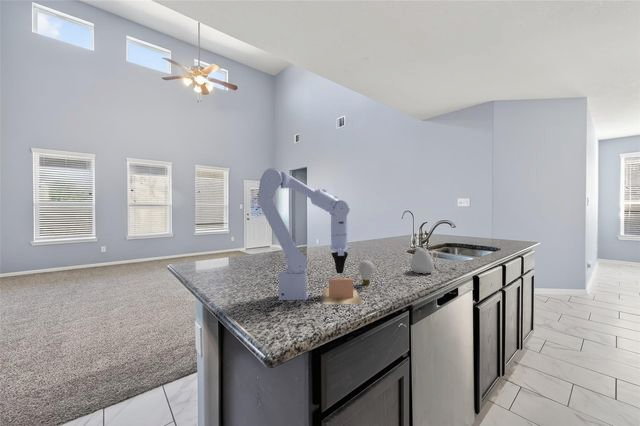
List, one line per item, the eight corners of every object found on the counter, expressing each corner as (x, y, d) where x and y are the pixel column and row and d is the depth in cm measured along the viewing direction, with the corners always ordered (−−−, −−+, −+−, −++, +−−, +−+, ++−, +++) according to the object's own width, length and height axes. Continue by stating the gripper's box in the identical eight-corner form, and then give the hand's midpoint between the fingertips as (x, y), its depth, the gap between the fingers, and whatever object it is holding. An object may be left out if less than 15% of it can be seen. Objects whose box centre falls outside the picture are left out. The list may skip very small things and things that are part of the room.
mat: (323, 306, 82) (323, 304, 82) (322, 289, 100) (322, 287, 100) (362, 306, 82) (362, 304, 82) (354, 289, 100) (354, 287, 100)
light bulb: (374, 288, 101) (373, 261, 101) (358, 287, 102) (357, 261, 102) (374, 284, 107) (373, 259, 107) (359, 283, 108) (358, 258, 108)
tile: (329, 298, 88) (328, 279, 88) (328, 296, 90) (328, 278, 90) (353, 297, 88) (353, 279, 88) (352, 295, 90) (352, 278, 90)
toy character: (433, 270, 129) (433, 245, 129) (434, 275, 120) (433, 248, 120) (411, 269, 133) (410, 245, 133) (409, 273, 124) (409, 247, 123)
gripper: (353, 236, 88) (353, 277, 88) (348, 232, 102) (348, 268, 102) (331, 236, 88) (332, 278, 88) (329, 232, 102) (330, 268, 102)
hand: (339, 272), depth 95 cm, fingers closed
